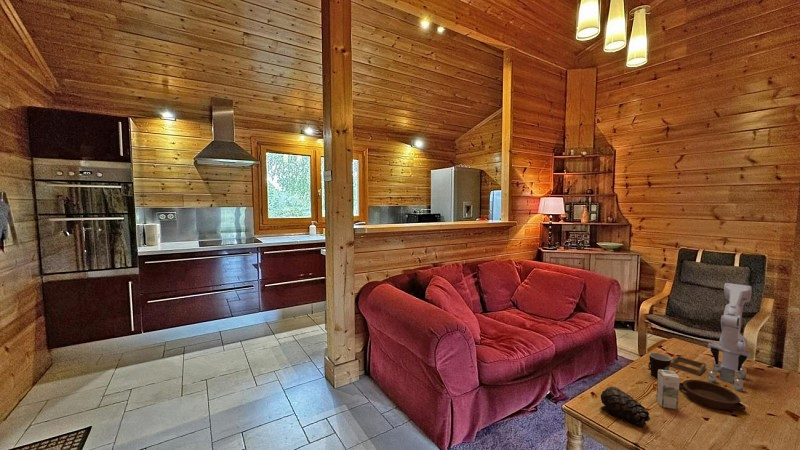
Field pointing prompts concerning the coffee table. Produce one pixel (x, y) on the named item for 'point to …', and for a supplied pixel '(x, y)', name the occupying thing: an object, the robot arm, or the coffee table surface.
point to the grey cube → (727, 374)
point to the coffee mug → (658, 363)
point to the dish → (711, 395)
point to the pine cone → (624, 407)
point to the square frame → (685, 368)
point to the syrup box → (667, 389)
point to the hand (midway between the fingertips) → (727, 366)
